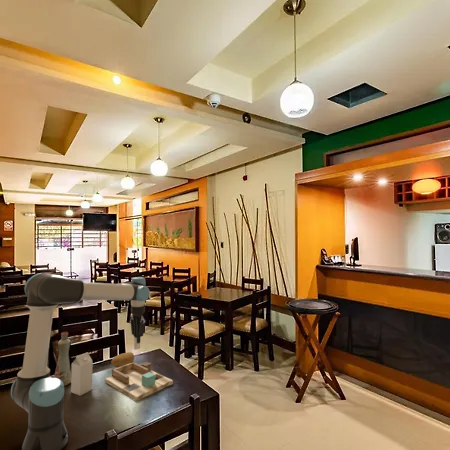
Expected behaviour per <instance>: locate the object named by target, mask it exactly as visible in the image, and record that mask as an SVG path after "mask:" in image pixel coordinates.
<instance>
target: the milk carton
mask: <svg viewBox="0 0 450 450" xmlns="http://www.w3.org/2000/svg"><path fill="white" fill-rule="evenodd" d="M75 357H76V358H75V359H74V360H73V362H71V383H70V386H71V387H70V388H71V389H70V392H71V393H72V394H74V395H78V396H82V395H84V394H86V393H88V392H90V391H92V390H93V359H92V357H91V356H90V354H89V352H85V353H82V354H79V355H77V356H75Z"/></svg>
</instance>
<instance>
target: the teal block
mask: <svg viewBox="0 0 450 450" xmlns="http://www.w3.org/2000/svg"><path fill="white" fill-rule="evenodd" d="M155 380H156V378H155V374H153V373H151V372H148V373H146V374H143V375H142V385H143V386H145V387H147V388H148V387H150V386H152V385H155Z"/></svg>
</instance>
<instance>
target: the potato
mask: <svg viewBox="0 0 450 450" xmlns="http://www.w3.org/2000/svg"><path fill="white" fill-rule="evenodd" d="M134 361H135V355H134V352H131V351H129V352H124V353H120V354H118V355H115V356H113V358H112V359H111V361H110V362H111V365H112V366H114V368H115V369H116V368H118V367H121V366H124V365H127V364H130V363H132V362H134Z"/></svg>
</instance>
